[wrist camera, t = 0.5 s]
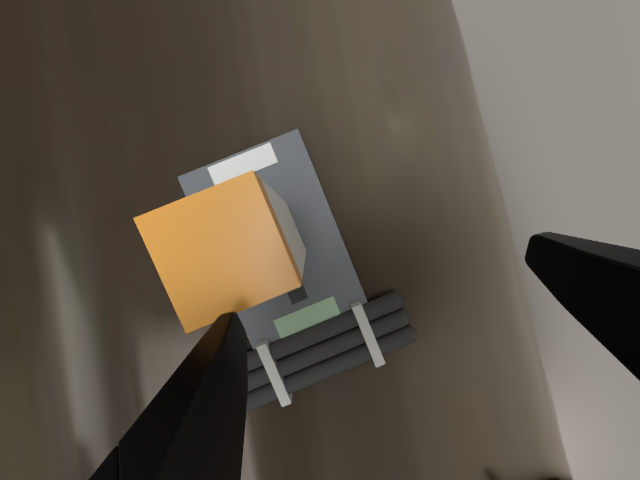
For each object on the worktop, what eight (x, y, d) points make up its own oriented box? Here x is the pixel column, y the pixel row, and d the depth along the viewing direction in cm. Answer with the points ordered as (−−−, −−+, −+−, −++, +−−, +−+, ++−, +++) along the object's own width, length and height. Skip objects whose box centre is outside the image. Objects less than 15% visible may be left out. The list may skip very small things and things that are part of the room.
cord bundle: (394, 283, 22) (400, 287, 20) (416, 339, 22) (424, 347, 21) (222, 354, 22) (215, 364, 20) (247, 410, 22) (242, 423, 20)
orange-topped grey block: (306, 250, 21) (301, 286, 8) (259, 269, 21) (185, 333, 8) (286, 203, 20) (252, 170, 8) (238, 222, 20) (133, 218, 8)
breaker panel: (367, 302, 22) (368, 304, 21) (255, 348, 22) (253, 352, 21) (298, 131, 21) (297, 128, 20) (181, 178, 21) (176, 177, 20)
